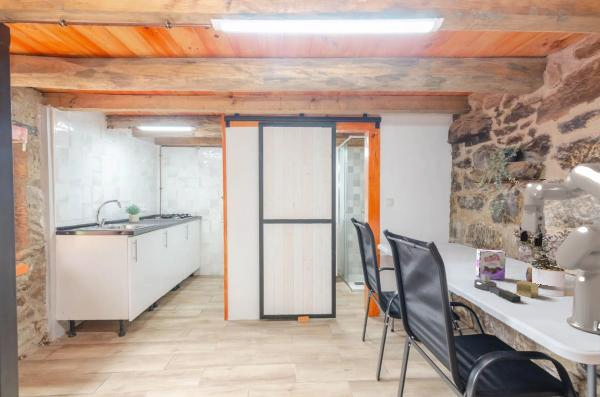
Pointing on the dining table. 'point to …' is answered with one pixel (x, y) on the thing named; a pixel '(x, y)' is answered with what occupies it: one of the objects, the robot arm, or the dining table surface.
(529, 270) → the tin
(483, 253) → the candy box
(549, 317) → the dining table surface
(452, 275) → the dining table surface
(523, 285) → the tan cube
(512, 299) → the ratchet
